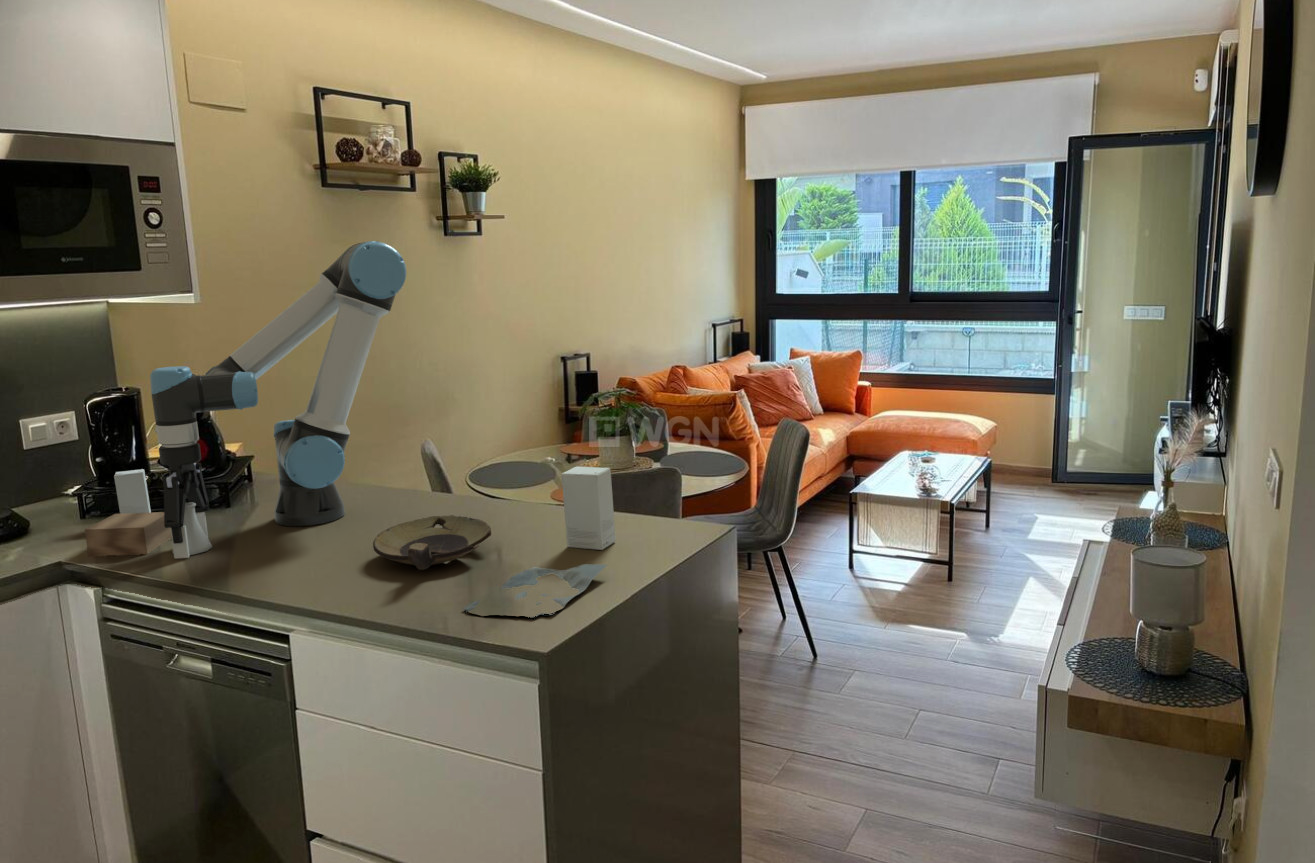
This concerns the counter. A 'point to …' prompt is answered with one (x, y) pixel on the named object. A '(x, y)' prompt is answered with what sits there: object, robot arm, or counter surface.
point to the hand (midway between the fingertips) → (192, 549)
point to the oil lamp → (431, 540)
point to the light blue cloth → (574, 576)
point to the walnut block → (127, 534)
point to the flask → (194, 531)
